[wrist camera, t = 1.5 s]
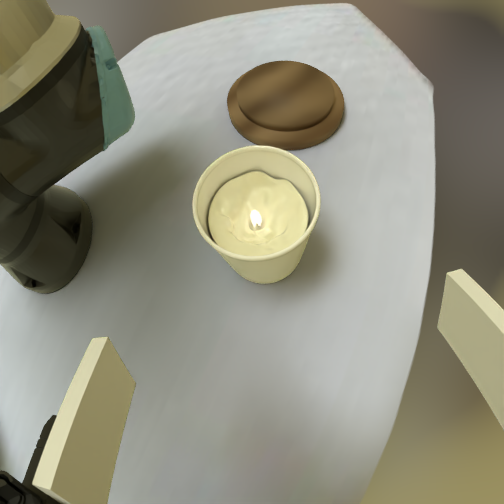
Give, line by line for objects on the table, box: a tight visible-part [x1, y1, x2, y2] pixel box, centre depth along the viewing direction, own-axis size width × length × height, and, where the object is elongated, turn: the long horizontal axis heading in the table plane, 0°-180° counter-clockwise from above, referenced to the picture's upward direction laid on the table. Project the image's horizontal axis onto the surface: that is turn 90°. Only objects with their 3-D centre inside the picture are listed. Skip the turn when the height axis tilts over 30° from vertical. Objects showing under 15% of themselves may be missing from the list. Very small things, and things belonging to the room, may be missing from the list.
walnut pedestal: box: [227, 61, 344, 150], centre depth 39 cm, size 16×16×4 cm
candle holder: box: [192, 145, 321, 284], centre depth 29 cm, size 10×10×12 cm
